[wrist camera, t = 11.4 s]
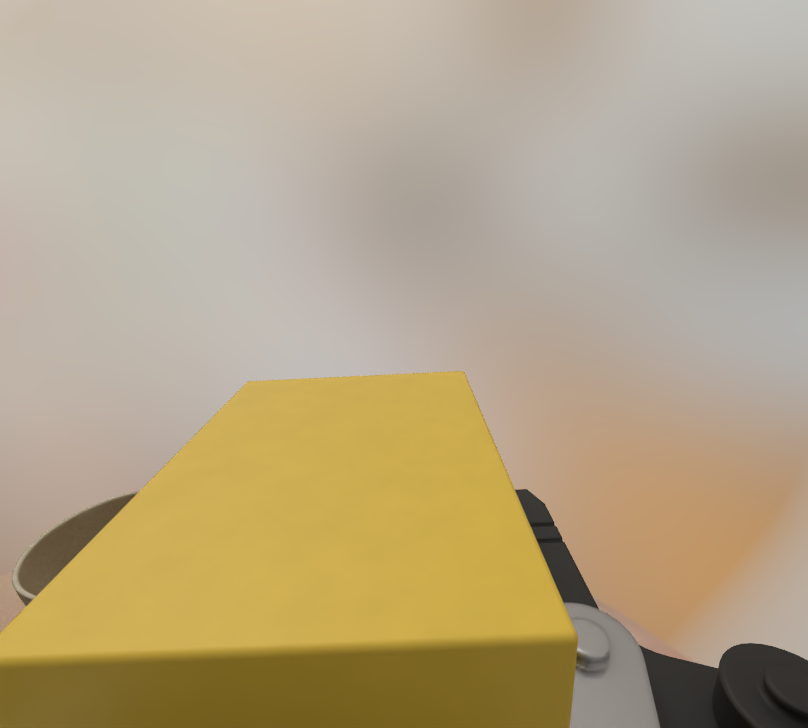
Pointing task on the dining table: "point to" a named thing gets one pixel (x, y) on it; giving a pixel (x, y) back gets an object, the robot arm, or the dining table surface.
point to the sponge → (307, 578)
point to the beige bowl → (62, 546)
